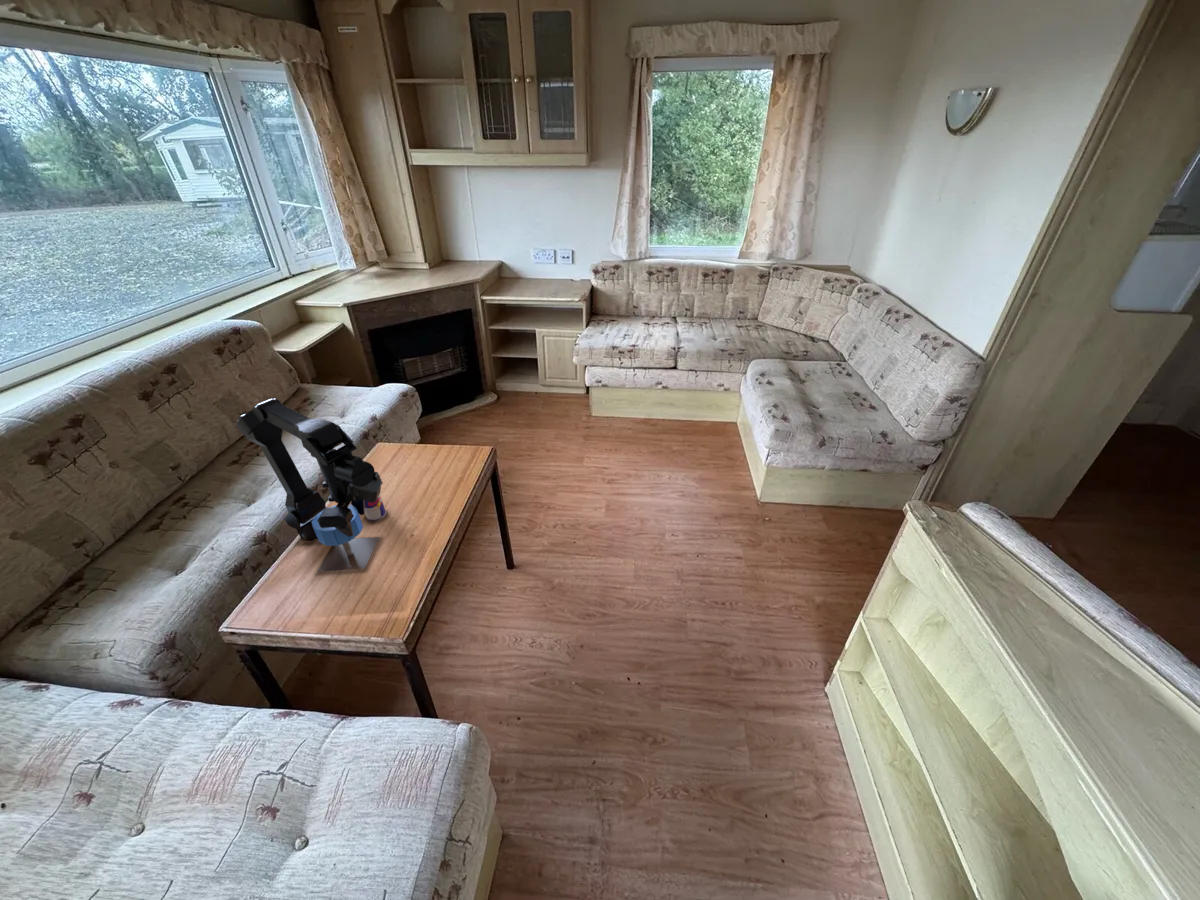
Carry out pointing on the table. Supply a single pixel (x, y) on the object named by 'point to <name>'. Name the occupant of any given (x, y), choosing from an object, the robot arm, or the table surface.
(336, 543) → the tape roll
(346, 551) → the tape stand
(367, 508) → the energy drink
